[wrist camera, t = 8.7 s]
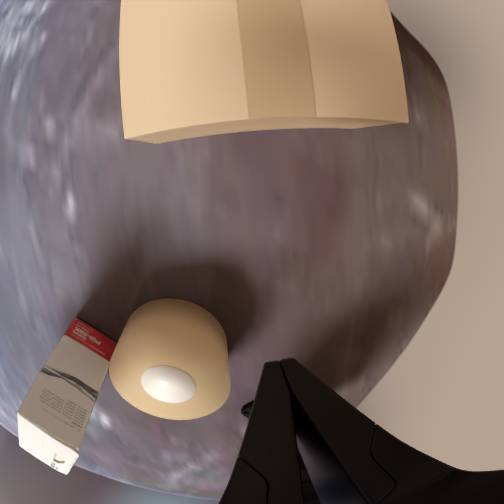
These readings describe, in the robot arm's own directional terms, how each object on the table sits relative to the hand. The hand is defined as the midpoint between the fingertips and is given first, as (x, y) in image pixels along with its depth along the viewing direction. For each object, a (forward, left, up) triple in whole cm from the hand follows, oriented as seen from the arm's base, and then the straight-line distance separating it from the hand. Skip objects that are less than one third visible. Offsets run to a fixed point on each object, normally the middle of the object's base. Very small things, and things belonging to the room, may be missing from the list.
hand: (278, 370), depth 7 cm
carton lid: (+9, -8, -7) cm, 14 cm away
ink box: (0, +19, -13) cm, 23 cm away
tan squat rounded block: (-4, +10, -13) cm, 17 cm away
